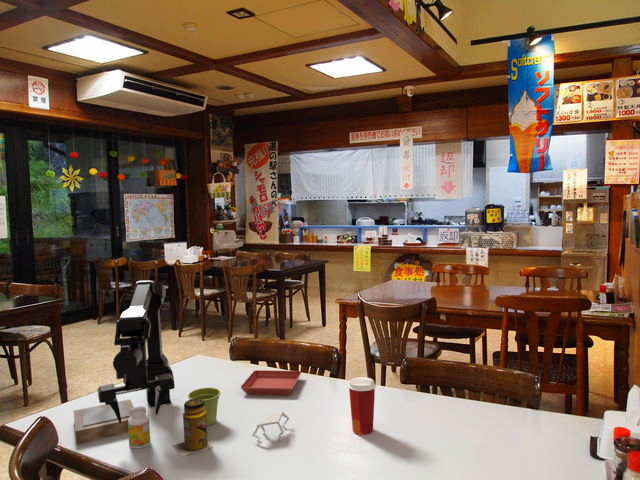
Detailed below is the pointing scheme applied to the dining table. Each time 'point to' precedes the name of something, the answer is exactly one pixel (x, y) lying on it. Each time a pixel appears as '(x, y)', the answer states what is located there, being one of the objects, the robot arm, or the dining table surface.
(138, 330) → the robot arm
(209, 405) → the plant pot
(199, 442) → the condiment
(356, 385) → the paper cup
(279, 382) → the plant saucer
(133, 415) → the supplement bottle
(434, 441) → the dining table surface
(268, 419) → the miniature table
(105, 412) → the framed mirror
